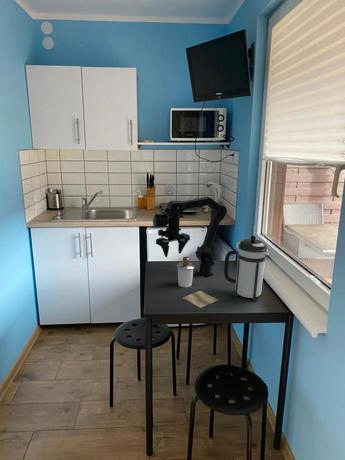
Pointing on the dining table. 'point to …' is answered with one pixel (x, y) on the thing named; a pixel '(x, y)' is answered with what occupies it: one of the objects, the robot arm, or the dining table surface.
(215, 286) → the dining table surface
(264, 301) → the dining table surface
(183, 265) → the lid
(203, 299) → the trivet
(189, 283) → the white cup
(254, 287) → the coffee press
